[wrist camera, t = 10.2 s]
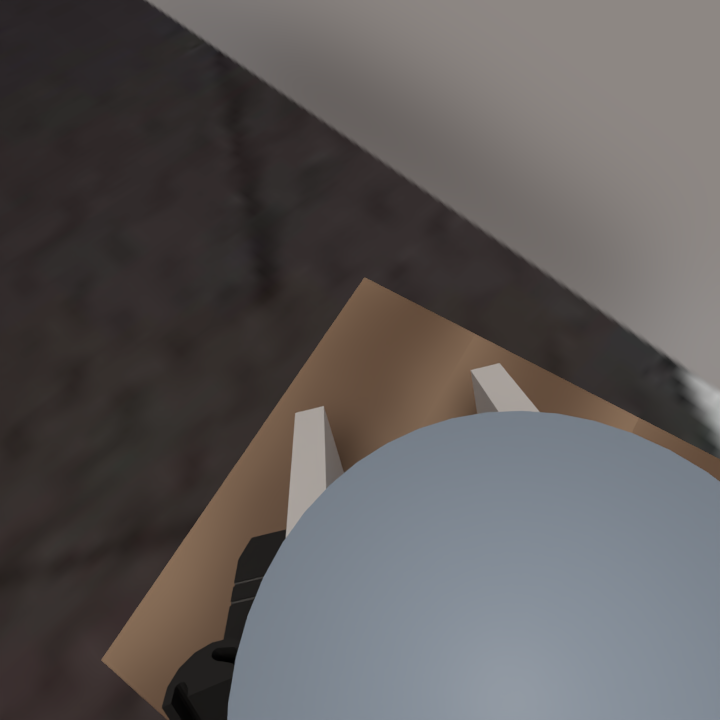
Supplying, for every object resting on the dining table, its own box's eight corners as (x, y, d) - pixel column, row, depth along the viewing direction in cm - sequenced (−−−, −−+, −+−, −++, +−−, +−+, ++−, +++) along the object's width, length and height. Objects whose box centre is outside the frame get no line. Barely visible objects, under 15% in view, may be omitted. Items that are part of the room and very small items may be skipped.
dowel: (354, 594, 16) (98, 830, 3) (416, 487, 17) (423, 321, 4) (463, 673, 15) (781, 1538, 2) (523, 554, 16) (1004, 624, 3)
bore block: (179, 629, 19) (101, 659, 14) (375, 332, 22) (364, 277, 17) (523, 916, 15) (573, 1088, 10) (696, 507, 18) (793, 497, 14)
